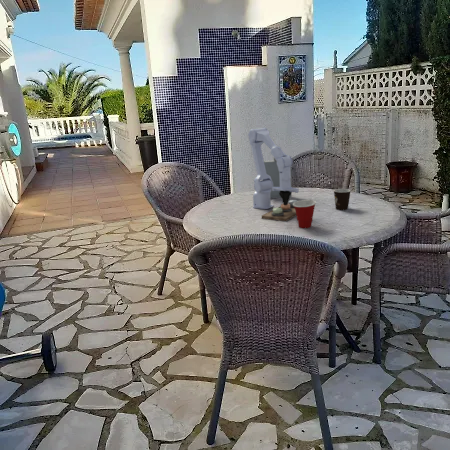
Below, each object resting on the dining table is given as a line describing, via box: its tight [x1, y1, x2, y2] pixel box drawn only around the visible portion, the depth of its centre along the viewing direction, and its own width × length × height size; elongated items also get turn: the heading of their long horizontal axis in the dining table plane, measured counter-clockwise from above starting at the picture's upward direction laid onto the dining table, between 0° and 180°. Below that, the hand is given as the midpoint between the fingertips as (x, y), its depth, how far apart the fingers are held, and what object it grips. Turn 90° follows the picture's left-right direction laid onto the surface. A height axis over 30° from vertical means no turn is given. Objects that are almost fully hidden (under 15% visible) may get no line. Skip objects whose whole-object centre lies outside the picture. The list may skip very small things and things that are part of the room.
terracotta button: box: [280, 203, 290, 210], centre depth 225 cm, size 5×5×2 cm
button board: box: [261, 205, 297, 222], centre depth 226 cm, size 14×27×2 cm, turn 145°
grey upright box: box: [264, 156, 293, 199], centre depth 260 cm, size 17×5×25 cm, turn 81°
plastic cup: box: [293, 199, 317, 229], centre depth 200 cm, size 11×11×12 cm
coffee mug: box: [333, 188, 352, 211], centre depth 228 cm, size 12×9×10 cm
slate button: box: [288, 199, 298, 206], centre depth 232 cm, size 5×5×2 cm
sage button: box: [272, 207, 282, 214], centre depth 218 cm, size 5×5×2 cm
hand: (285, 204), depth 225 cm, fingers closed, pressing on terracotta button
